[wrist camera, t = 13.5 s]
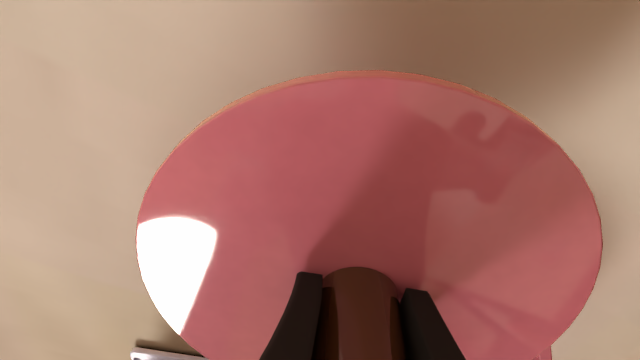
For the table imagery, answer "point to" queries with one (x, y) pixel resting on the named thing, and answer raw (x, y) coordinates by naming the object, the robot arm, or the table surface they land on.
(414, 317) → the robot arm
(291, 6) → the table surface
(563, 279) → the lid
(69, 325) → the table surface
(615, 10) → the table surface
